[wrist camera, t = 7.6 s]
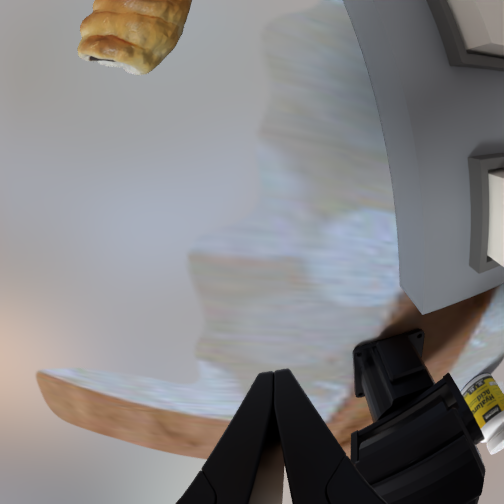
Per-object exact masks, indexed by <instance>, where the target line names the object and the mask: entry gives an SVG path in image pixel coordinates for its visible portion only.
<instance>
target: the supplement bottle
mask: <svg viewBox="0 0 504 504" xmlns="http://www.w3.org/2000/svg"><path fill="white" fill-rule="evenodd" d="M461 394H462V395H463V397H464V399H465V401H466V402H467V404H468V406H469V408H470V410H471V411H472V413H473V415H474V417H475V419H476V421H477V423H478V425H479V427H480V429H481V431H482V433H483V435H484V438H485V439H484V440H482V441H481V442H487V448H488V450H489V452H490V454H494V453H496V452H498V451H500V450H501V449H503V448H504V394H503V393H502V391H501V390H500V388H499V386H498V385H497V383H496V382H495V380H494V379H493V377H492V376H491V375H490V374H488V373H486V374H482V375H479V376H477V377H476V378H474V379H473V380H472V381H470V382H469V383H468V384H467V385H466V386H465V387H464V389H463V390H462V391H461Z"/></svg>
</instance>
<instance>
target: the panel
mask: <svg viewBox="0 0 504 504" xmlns="http://www.w3.org/2000/svg"><path fill="white" fill-rule="evenodd" d="M343 2H344V4H345V7H346V9H347V11H348V14H349V17H350V19H351V22H352V24H353V27H354V30H355V33H356V35H357V38H358V41H359V44H360V47H361V50H362V53H363V56H364V59H365V63H366V66H367V69H368V73H369V76H370V80H371V83H372V87H373V91H374V94H375V98H376V102H377V106H378V111H379V115H380V119H381V124H382V129H383V133H384V138H385V144H386V149H387V155H388V160H389V166H390V173H391V180H392V187H393V195H394V203H395V212H396V222H397V234H398V249H399V271H400V286H401V287H402V289H403V290H404V291H405V293H406V294H407V295H408V296H409V298H410V299H411V300H412V302H413V303H414V304H415V306H416V307H417V308H418V310H419V311H420V312H421V314H422V315H424V314H427V313H430V312H433V311H435V310H438V309H441V308H444V307H447V306H449V305H452V304H455V303H457V302H460V301H462V300H465V299H468V298H470V297H473V296H475V295H478V294H480V293H482V292H485V291H487V290H489V289H492V288H494V287H496V286H499V285H501V284H503V283H504V267H503V266H501V265H500V264H499V263H497V262H496V261H495V260H493V259H492V258H491V257H489V256H488V255H487V251H488V236H489V178H488V170H493V169H499V168H504V58H500V57H494V56H488V55H482V54H475V53H467V52H466V50H465V46H464V43H463V40H462V38H461V35H460V32H459V29H458V26H457V24H456V21H455V19H454V16H453V14H452V11H451V9H450V7H449V4H448V2H447V0H343Z"/></svg>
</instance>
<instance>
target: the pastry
mask: <svg viewBox="0 0 504 504" xmlns="http://www.w3.org/2000/svg"><path fill="white" fill-rule="evenodd" d="M191 2H192V0H95V1H94V4H93V13H92V14H91V15H89V16H88V17H86V18H85V19H84V20H83V21H82V24H81V26H80V32H81V35H82V40H81V42H80V43H79V46H78V55H79V57H81V58H82V59H84V60H86V61H98V62H99V64H101V65H104V66H113V67H123V68H124V70H126V71H127V72H128V73H130V74H136V75H143V74H147V73H149V72H150V71H152V70H153V69H154V68H155V67H156V66H157V65H159V64H160V63H161V61H162V60H163V59H164V58H165V57H166V56H167V55H168V54H169V53H170V52H171V51H172V50H173V49H174V47H175V46H176V44H177V42H178V40H179V38H180V36H181V35H182V32H183V28H184V24H185V22H186V19H187V15H188V13H189V10H190V5H191Z"/></svg>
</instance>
